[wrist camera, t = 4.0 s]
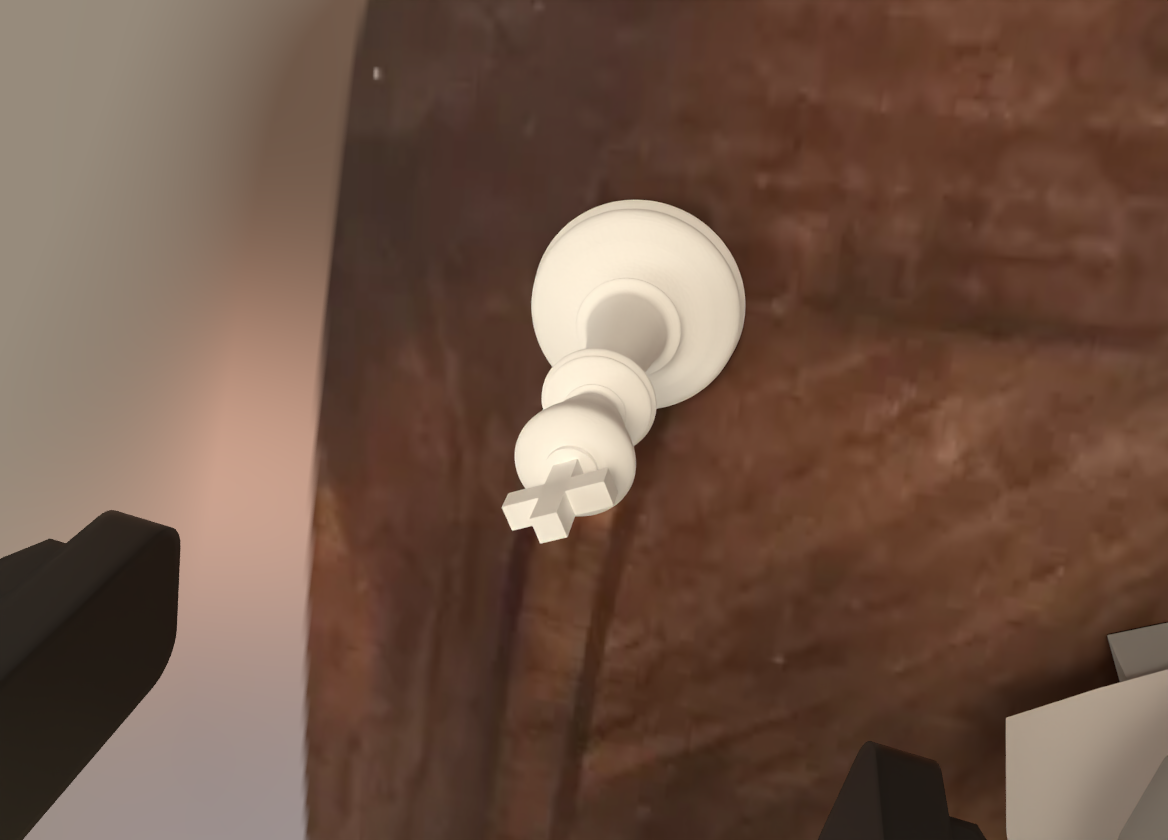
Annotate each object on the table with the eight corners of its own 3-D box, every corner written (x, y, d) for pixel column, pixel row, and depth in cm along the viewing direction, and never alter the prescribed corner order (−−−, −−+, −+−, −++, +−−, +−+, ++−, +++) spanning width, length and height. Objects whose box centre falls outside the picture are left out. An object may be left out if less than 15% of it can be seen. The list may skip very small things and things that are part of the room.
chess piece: (502, 238, 24) (331, 423, 15) (706, 168, 22) (652, 327, 13) (577, 424, 25) (465, 689, 17) (772, 371, 24) (762, 631, 15)
